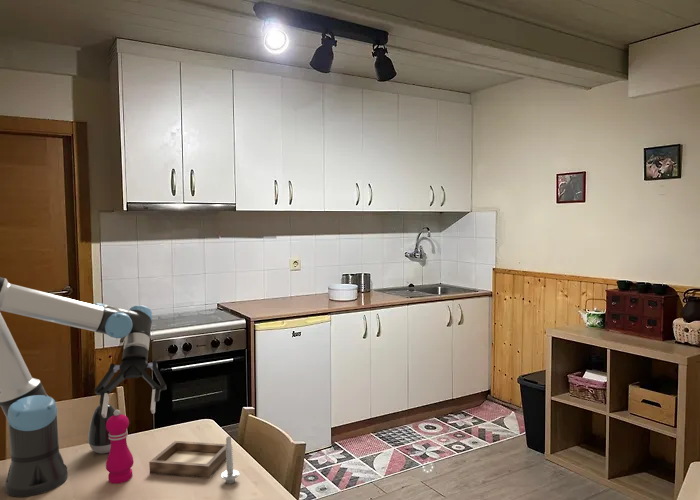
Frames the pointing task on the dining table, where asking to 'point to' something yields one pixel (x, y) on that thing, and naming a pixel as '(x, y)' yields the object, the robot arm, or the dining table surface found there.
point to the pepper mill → (118, 449)
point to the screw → (229, 464)
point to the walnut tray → (189, 459)
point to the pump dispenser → (100, 430)
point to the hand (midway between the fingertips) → (128, 413)
